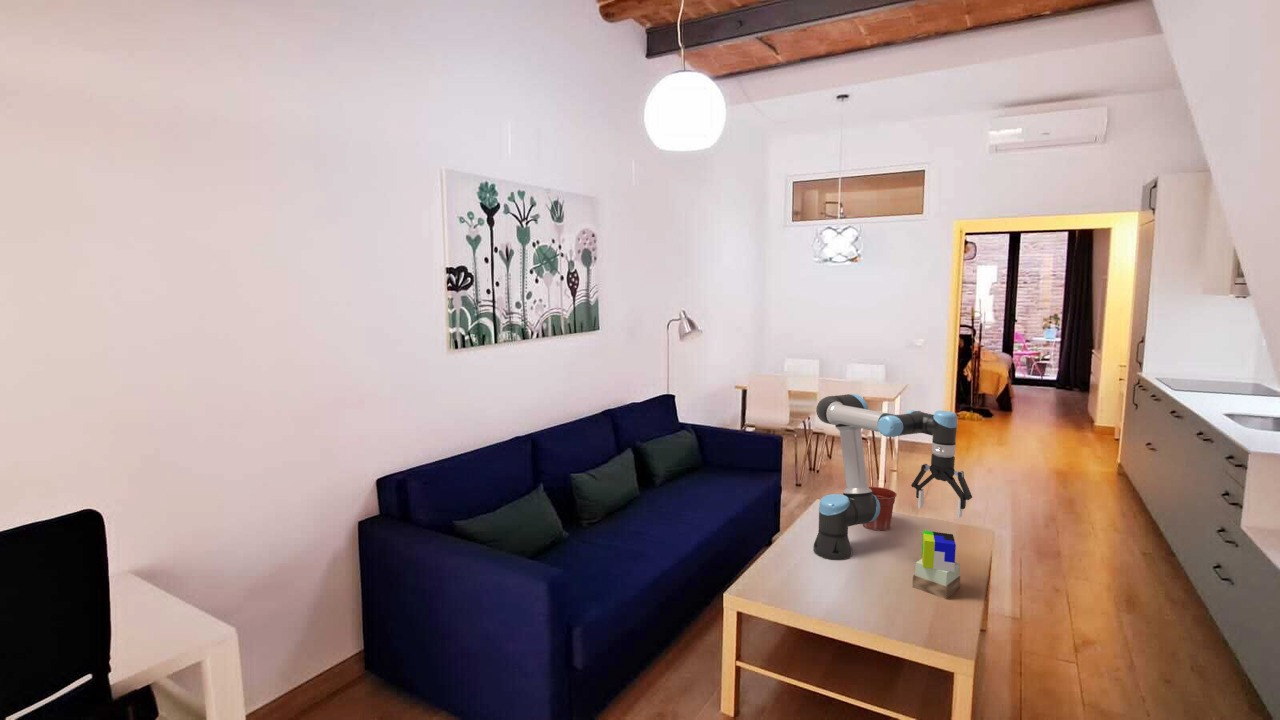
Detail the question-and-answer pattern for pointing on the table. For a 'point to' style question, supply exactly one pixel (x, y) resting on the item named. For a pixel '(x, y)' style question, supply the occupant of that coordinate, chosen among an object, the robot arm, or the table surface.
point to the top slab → (937, 574)
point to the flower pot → (882, 509)
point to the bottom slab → (936, 587)
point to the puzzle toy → (938, 551)
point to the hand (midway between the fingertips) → (939, 512)
